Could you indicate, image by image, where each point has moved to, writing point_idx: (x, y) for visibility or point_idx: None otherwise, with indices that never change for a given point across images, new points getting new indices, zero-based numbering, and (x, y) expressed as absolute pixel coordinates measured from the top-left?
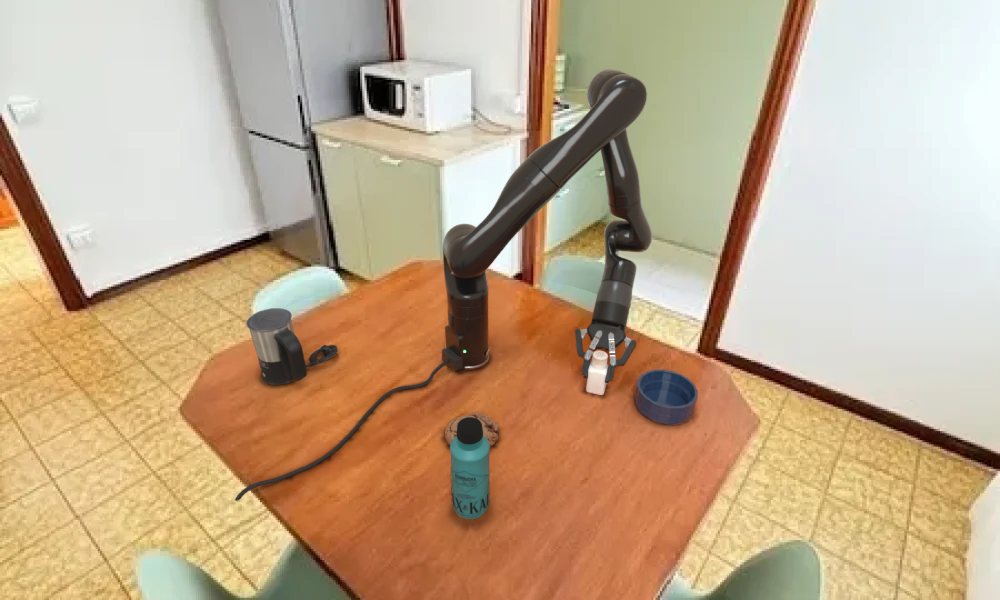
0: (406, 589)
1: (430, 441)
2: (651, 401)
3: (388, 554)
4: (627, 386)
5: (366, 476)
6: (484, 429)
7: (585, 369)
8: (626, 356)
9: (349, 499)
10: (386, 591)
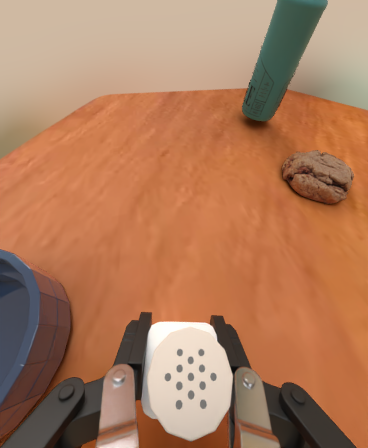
0: None
1: None
2: (14, 256)
3: None
4: None
5: (349, 131)
6: (308, 161)
7: (226, 332)
8: (18, 440)
9: (338, 118)
10: None
